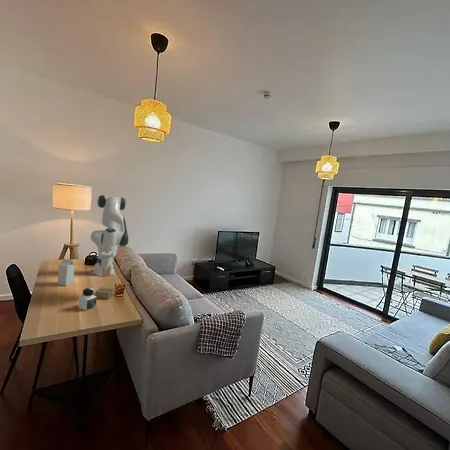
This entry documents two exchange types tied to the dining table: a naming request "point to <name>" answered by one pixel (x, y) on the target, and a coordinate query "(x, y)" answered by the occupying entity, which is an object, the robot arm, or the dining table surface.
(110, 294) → the tan square block
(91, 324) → the dining table surface
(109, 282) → the dining table surface
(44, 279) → the dining table surface
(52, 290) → the dining table surface
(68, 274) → the milk carton
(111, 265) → the pink block
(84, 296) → the medicine bottle
